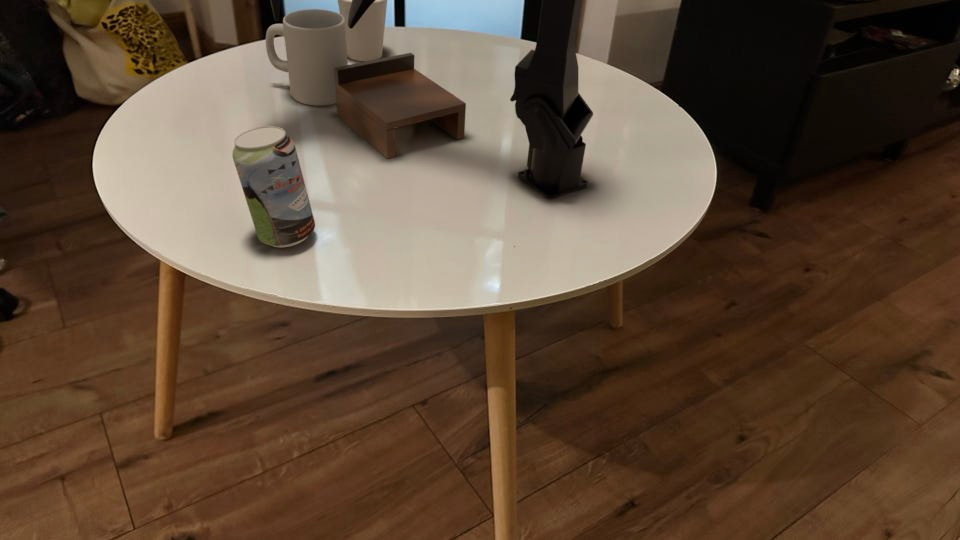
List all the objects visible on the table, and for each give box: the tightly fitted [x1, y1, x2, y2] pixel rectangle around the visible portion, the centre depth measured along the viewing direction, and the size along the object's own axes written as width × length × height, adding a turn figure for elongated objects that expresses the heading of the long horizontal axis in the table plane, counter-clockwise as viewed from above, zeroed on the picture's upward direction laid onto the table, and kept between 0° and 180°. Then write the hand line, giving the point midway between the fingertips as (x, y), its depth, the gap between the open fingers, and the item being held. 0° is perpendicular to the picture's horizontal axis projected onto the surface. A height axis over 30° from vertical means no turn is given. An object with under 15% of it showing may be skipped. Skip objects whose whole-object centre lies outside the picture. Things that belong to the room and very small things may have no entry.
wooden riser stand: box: [334, 52, 467, 159], centre depth 94 cm, size 14×12×7 cm
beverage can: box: [232, 125, 316, 248], centre depth 71 cm, size 6×7×12 cm
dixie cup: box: [337, 0, 388, 62], centre depth 112 cm, size 8×8×10 cm
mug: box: [265, 8, 349, 106], centre depth 99 cm, size 12×8×11 cm
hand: (313, 22), depth 86 cm, fingers open, 9 cm apart
